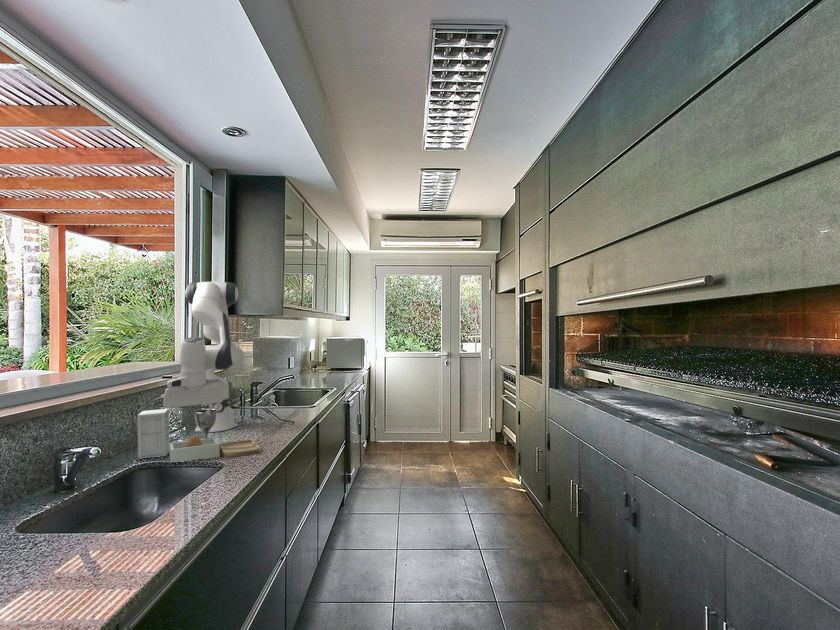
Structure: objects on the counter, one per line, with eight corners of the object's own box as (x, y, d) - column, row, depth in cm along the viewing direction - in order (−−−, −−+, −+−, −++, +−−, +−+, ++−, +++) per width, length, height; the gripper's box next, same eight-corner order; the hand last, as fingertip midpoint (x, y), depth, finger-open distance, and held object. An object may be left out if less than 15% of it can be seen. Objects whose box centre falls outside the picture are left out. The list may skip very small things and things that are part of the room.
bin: (169, 456, 174) (169, 443, 175) (215, 449, 183) (215, 437, 183) (170, 464, 164) (170, 450, 164) (219, 456, 172) (219, 443, 172)
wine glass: (190, 449, 184) (190, 411, 184) (208, 444, 191) (207, 408, 191) (203, 451, 180) (203, 413, 180) (221, 446, 187) (220, 409, 187)
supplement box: (170, 451, 182) (170, 408, 183) (166, 457, 174) (165, 412, 174) (142, 453, 179) (142, 410, 179) (137, 460, 170) (136, 414, 171)
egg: (204, 454, 176) (204, 433, 176) (198, 458, 171) (198, 437, 171) (190, 454, 176) (190, 434, 176) (184, 458, 171) (183, 437, 171)
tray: (218, 447, 186) (218, 443, 186) (252, 442, 192) (252, 439, 192) (224, 458, 170) (224, 454, 170) (261, 452, 177) (261, 448, 177)
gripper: (222, 377, 182) (222, 412, 181) (162, 381, 171) (163, 419, 171) (224, 378, 176) (224, 415, 176) (163, 383, 166) (163, 421, 166)
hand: (194, 417), depth 173 cm, fingers open, 8 cm apart
